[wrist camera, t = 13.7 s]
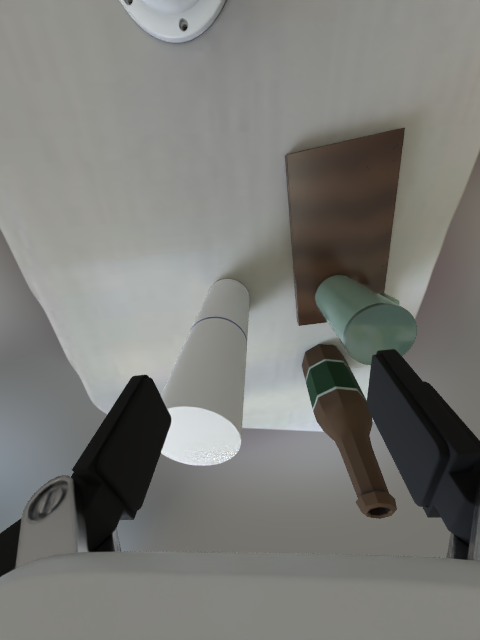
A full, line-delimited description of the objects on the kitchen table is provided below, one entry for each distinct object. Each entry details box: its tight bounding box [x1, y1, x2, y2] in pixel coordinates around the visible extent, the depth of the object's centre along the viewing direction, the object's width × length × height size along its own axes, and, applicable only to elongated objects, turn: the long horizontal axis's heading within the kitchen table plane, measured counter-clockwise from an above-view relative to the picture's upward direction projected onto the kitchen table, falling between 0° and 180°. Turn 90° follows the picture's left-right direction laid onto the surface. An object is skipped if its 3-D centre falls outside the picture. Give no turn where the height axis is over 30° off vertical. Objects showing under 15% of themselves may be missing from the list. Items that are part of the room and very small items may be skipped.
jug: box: [315, 275, 417, 365], centre depth 29 cm, size 7×9×14 cm
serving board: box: [285, 128, 405, 326], centre depth 33 cm, size 24×13×2 cm, turn 10°
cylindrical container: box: [161, 279, 250, 466], centre depth 28 cm, size 7×7×25 cm
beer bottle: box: [302, 344, 397, 518], centre depth 34 cm, size 8×8×24 cm
